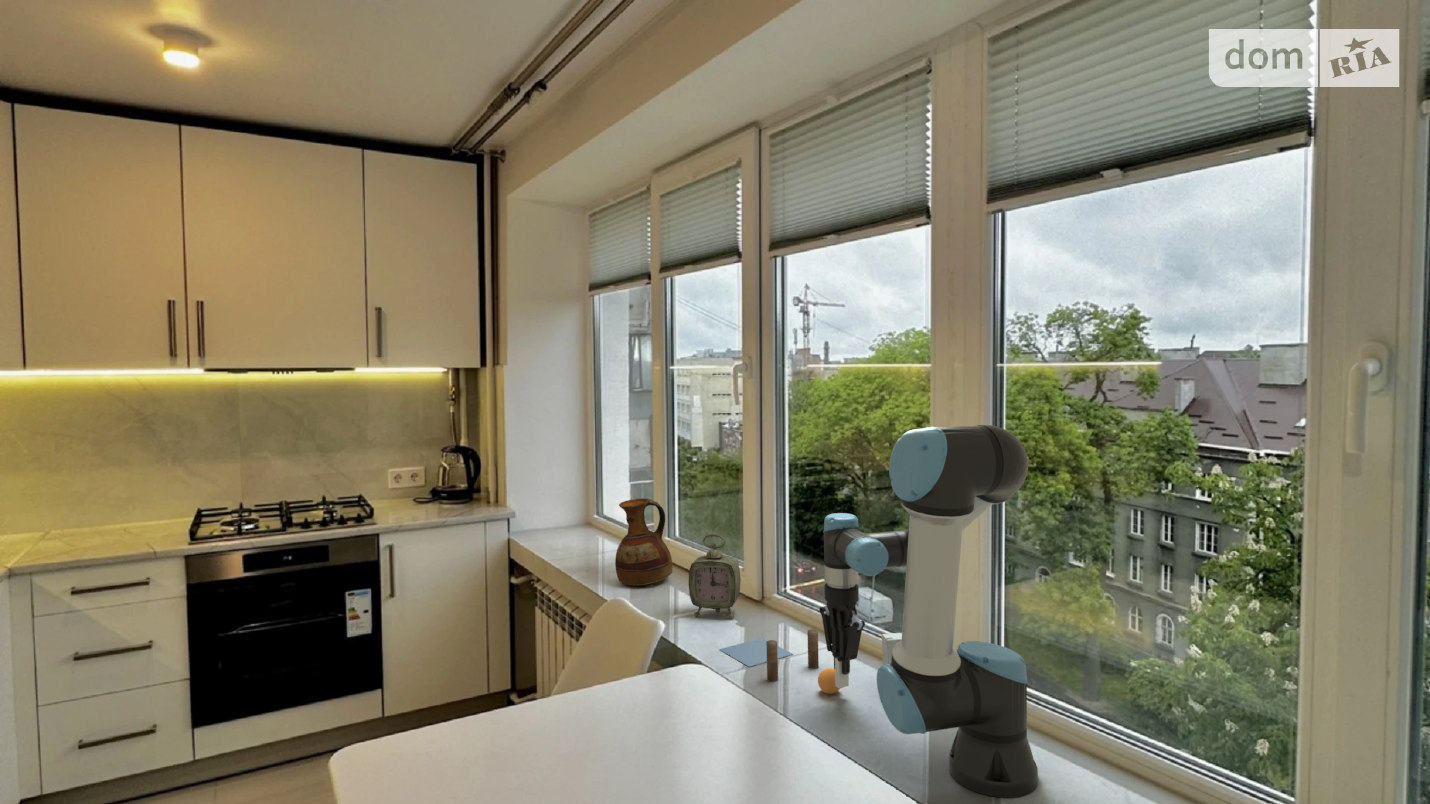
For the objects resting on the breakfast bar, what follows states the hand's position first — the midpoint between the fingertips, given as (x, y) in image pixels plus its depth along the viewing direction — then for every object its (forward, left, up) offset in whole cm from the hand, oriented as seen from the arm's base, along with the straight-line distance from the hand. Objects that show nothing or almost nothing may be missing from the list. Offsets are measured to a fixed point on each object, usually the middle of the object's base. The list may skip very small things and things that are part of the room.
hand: (841, 685), depth 165 cm
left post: (+17, +7, -3) cm, 19 cm away
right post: (+17, -6, -3) cm, 18 cm away
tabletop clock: (+64, -7, -3) cm, 65 cm away
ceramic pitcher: (+109, -5, -3) cm, 109 cm away
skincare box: (-3, -15, -3) cm, 15 cm away
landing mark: (+33, 0, -3) cm, 33 cm away
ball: (+4, 0, 0) cm, 4 cm away
